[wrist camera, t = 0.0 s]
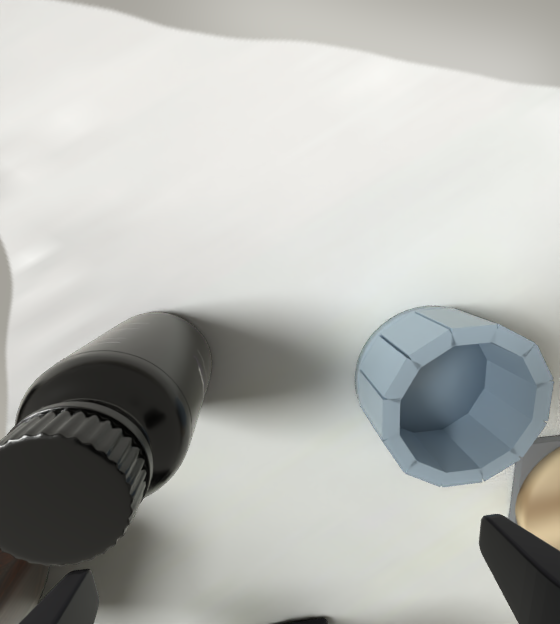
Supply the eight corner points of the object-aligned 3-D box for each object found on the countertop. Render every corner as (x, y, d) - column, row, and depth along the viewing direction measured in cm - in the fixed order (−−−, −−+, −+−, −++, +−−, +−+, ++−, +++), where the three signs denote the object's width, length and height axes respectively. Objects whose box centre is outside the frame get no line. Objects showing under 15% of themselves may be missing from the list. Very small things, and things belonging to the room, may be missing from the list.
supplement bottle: (233, 374, 22) (211, 532, 10) (148, 422, 22) (33, 629, 11) (176, 288, 20) (72, 360, 9) (84, 341, 21) (-135, 481, 9)
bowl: (483, 427, 25) (540, 474, 20) (355, 442, 24) (381, 494, 19) (495, 299, 22) (563, 318, 17) (353, 312, 22) (383, 335, 17)
